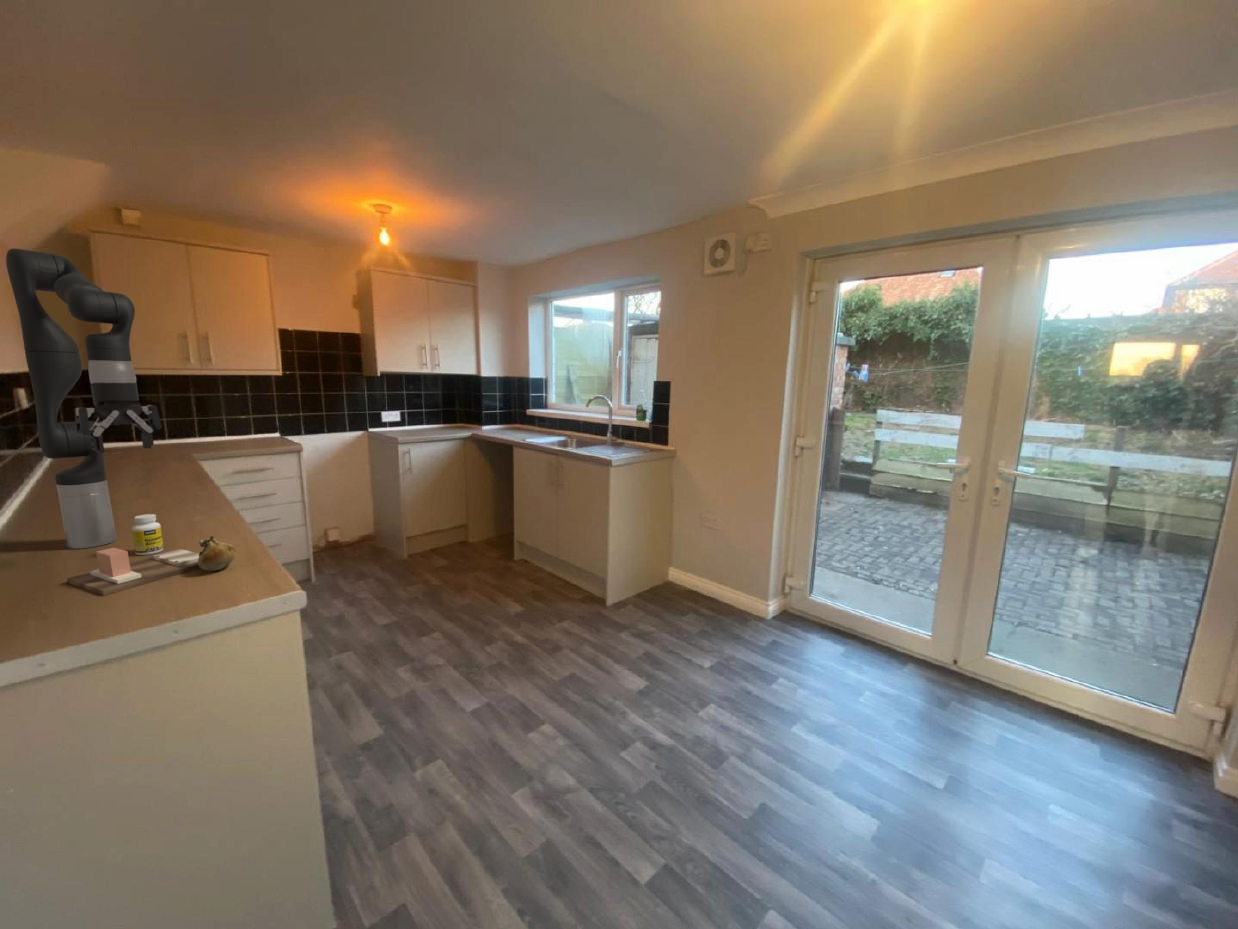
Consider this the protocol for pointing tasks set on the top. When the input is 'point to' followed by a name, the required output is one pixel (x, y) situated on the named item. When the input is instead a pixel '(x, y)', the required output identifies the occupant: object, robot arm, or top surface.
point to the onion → (215, 554)
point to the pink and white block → (114, 566)
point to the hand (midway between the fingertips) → (124, 450)
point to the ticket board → (142, 571)
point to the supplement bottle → (147, 535)
